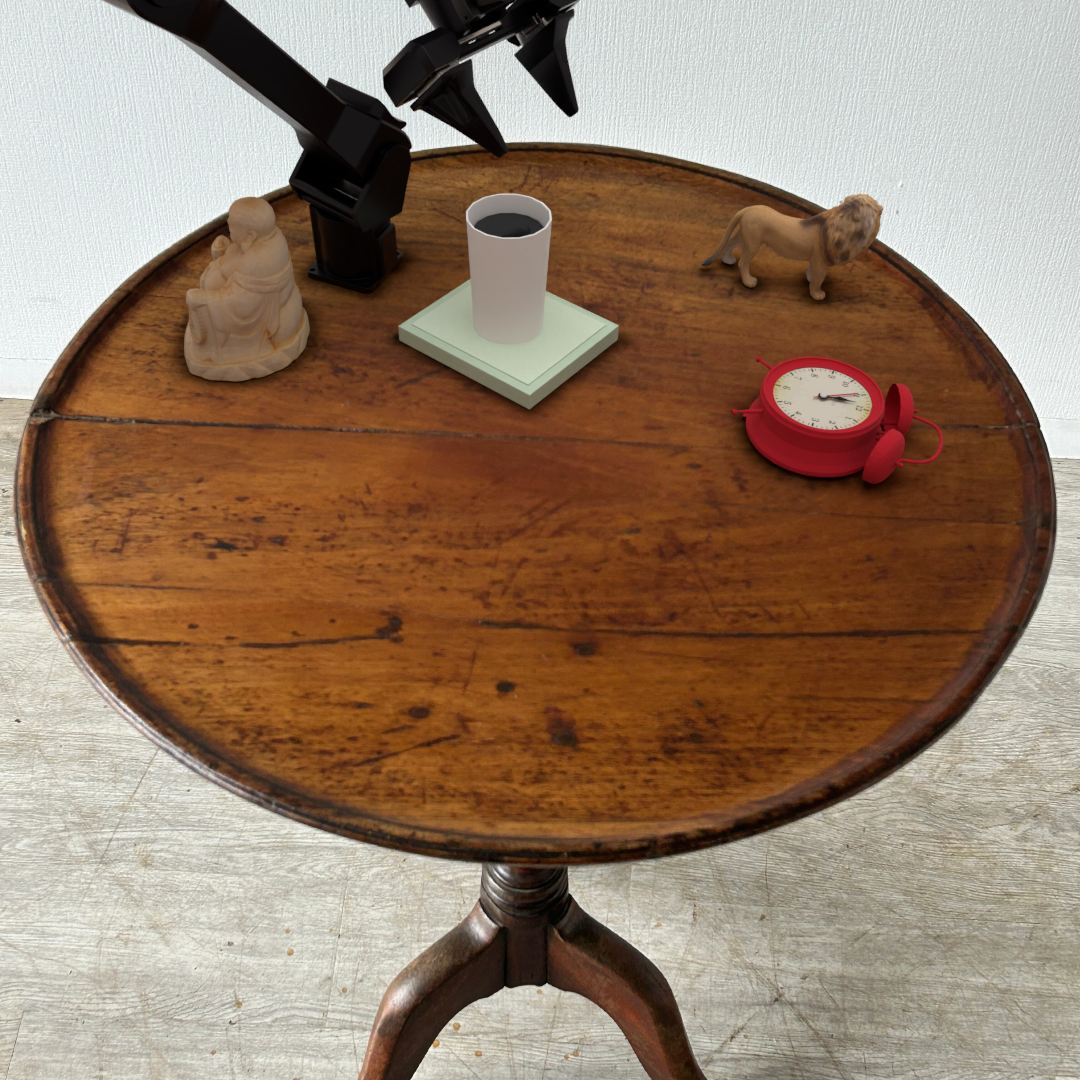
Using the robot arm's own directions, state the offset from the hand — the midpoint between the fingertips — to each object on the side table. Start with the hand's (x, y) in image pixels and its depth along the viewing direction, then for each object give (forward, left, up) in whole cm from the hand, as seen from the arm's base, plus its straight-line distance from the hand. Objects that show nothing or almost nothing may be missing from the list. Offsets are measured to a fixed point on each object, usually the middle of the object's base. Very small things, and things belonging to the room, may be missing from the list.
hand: (540, 134), depth 91 cm
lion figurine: (+21, +9, -14) cm, 27 cm away
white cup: (+2, -10, -12) cm, 16 cm away
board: (+2, -10, -14) cm, 17 cm away
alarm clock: (+30, -11, -14) cm, 34 cm away
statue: (-18, -19, -14) cm, 30 cm away
